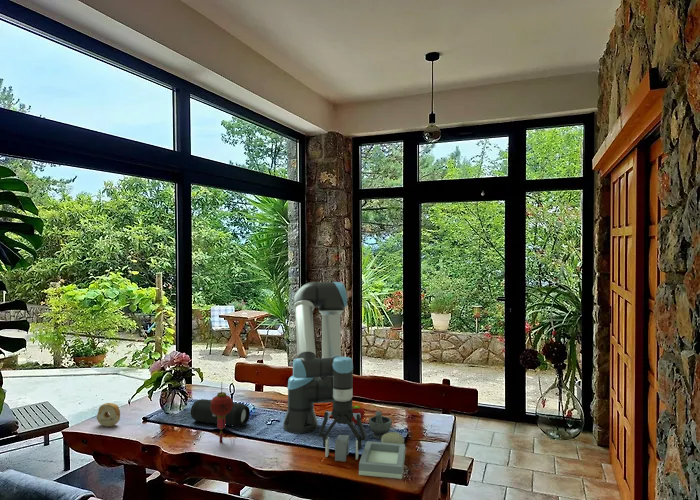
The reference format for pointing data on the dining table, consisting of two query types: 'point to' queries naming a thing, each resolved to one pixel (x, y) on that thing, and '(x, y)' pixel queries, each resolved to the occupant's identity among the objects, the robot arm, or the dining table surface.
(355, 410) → the decorative fruit
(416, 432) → the dining table surface
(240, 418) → the portable speaker
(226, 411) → the lantern
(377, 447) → the grey rectangular tray
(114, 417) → the stone disc
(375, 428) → the mortar and pestle
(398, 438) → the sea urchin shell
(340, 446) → the grey upright block
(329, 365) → the robot arm
